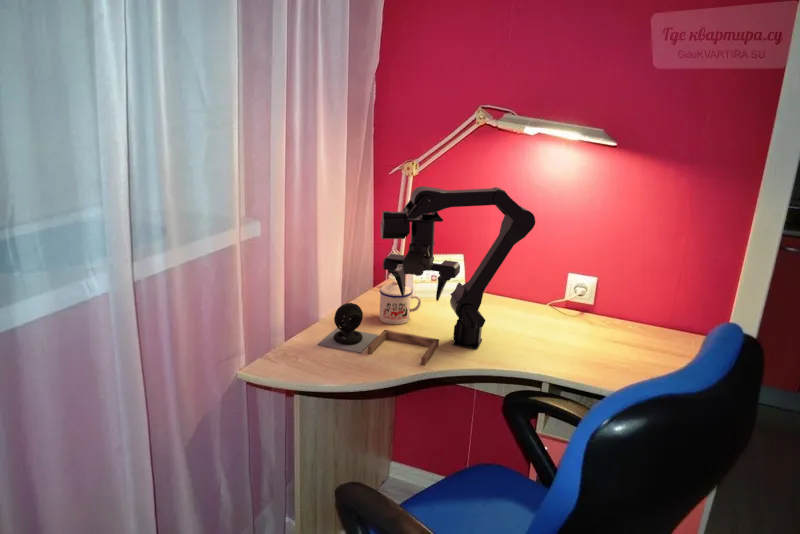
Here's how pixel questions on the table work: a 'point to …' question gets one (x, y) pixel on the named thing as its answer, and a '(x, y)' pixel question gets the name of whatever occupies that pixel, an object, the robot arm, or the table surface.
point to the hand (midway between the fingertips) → (420, 297)
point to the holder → (408, 338)
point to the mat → (356, 348)
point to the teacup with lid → (396, 304)
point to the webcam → (348, 324)
